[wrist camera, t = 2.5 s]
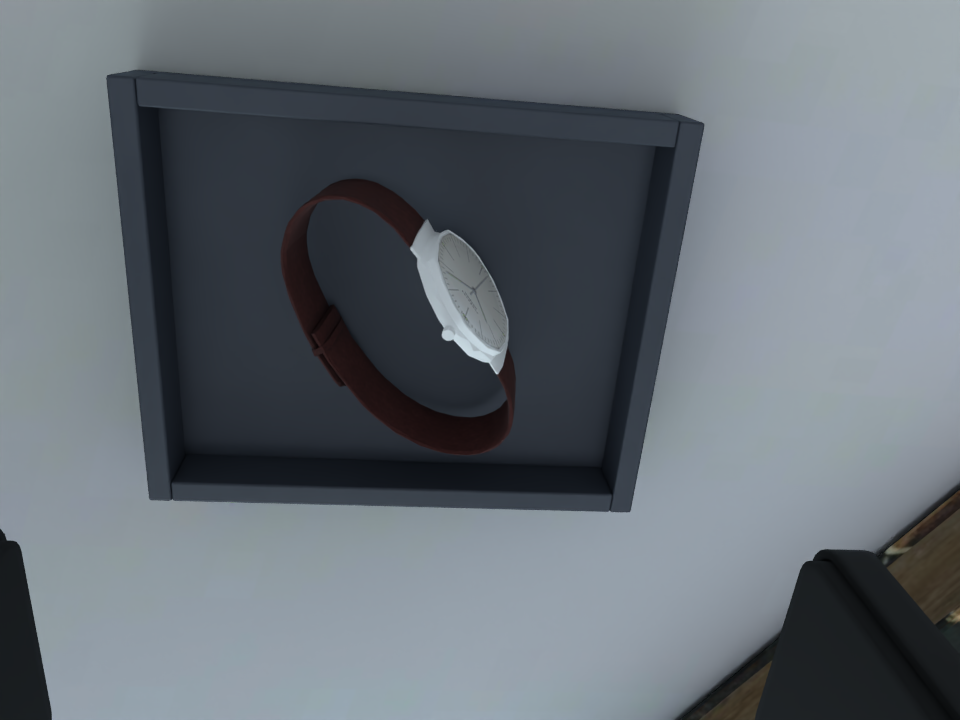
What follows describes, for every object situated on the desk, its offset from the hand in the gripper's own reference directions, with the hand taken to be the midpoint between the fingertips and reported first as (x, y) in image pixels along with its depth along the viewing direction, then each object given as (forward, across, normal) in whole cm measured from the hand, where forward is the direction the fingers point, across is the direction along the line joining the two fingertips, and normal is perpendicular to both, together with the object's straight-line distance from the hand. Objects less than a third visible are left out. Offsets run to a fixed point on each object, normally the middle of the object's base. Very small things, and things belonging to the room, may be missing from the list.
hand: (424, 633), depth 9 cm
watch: (+12, 0, 0) cm, 12 cm away
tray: (+12, 0, 0) cm, 13 cm away
